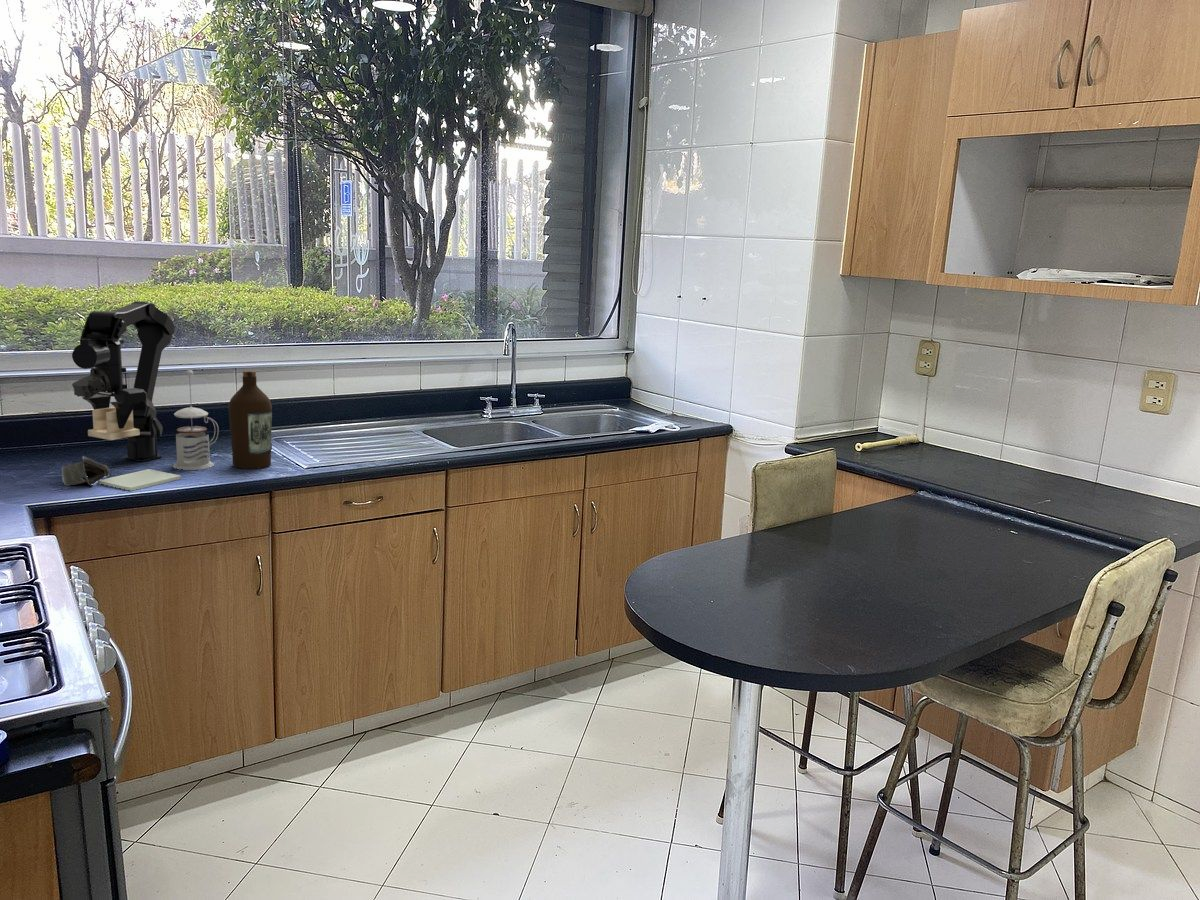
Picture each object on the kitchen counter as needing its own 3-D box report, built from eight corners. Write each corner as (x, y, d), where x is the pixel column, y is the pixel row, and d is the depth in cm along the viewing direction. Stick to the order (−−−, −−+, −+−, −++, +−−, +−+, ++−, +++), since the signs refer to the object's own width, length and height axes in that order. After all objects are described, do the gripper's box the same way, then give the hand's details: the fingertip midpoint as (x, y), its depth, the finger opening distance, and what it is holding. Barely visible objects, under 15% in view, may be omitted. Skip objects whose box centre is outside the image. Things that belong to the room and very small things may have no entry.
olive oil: (221, 464, 235) (218, 370, 230) (256, 458, 244) (254, 367, 238) (247, 472, 229) (244, 375, 224) (281, 465, 238) (279, 372, 233)
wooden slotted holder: (117, 430, 226) (115, 405, 225) (139, 435, 223) (138, 409, 222) (88, 435, 219) (86, 409, 218) (110, 440, 216) (109, 413, 215)
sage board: (149, 472, 224) (148, 469, 224) (181, 478, 220) (180, 475, 219) (98, 483, 211) (97, 480, 211) (130, 491, 207) (130, 487, 207)
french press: (165, 464, 232) (160, 368, 227) (209, 458, 241) (205, 366, 236) (183, 471, 226) (179, 373, 221) (227, 465, 235) (224, 370, 229)
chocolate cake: (82, 476, 219) (52, 450, 209) (111, 469, 220) (83, 443, 210) (80, 509, 214) (50, 484, 204) (109, 501, 215) (81, 476, 205)
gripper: (50, 362, 214) (55, 426, 217) (105, 370, 206) (109, 436, 210) (93, 359, 224) (97, 420, 227) (146, 366, 216) (150, 429, 220)
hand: (112, 426), depth 221 cm, fingers closed on wooden slotted holder, 6 cm apart
